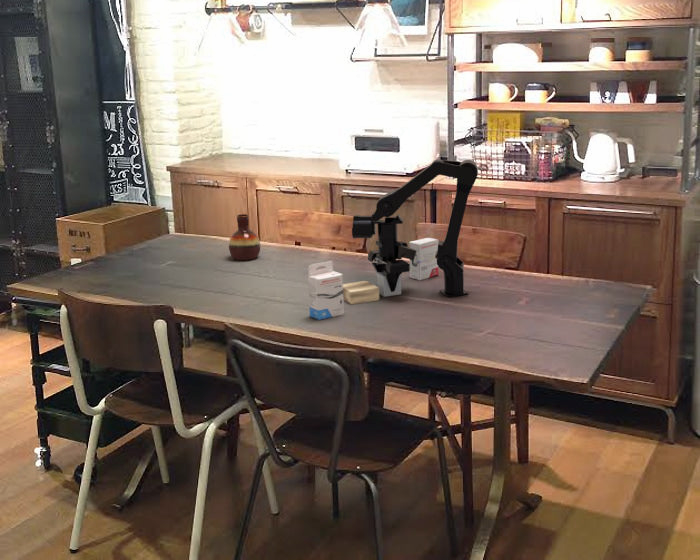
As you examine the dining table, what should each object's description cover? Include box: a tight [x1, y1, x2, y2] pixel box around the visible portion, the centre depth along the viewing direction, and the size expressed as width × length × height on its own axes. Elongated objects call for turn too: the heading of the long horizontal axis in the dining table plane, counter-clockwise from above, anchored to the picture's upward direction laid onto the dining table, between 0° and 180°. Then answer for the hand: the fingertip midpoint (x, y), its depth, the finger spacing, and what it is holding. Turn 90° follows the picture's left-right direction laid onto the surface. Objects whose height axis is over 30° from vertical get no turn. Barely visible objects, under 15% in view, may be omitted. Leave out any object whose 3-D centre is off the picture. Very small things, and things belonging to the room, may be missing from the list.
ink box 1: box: [307, 260, 345, 321], centre depth 242 cm, size 8×5×15 cm, turn 125°
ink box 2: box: [409, 237, 439, 281], centre depth 277 cm, size 9×5×12 cm, turn 129°
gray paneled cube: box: [376, 272, 402, 297], centre depth 262 cm, size 6×6×6 cm
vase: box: [228, 213, 261, 261], centre depth 309 cm, size 11×11×15 cm
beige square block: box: [343, 280, 380, 305], centre depth 258 cm, size 9×9×4 cm
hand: (389, 289), depth 262 cm, fingers closed on gray paneled cube, 5 cm apart
